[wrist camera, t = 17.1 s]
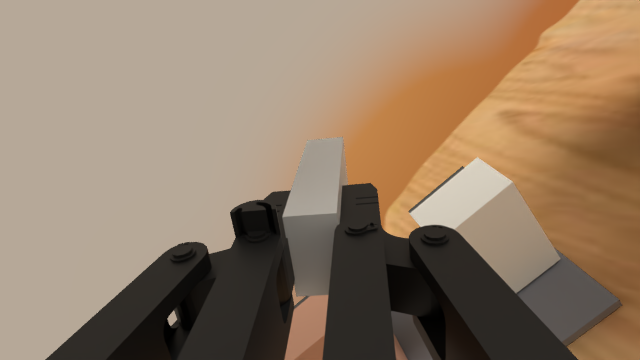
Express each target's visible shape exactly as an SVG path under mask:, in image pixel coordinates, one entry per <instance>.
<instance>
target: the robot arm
mask: <svg viewBox="0 0 640 360" xmlns="http://www.w3.org/2000/svg"><path fill="white" fill-rule="evenodd" d="M346 171H347V170H346V160H345V151H344V143H343V137H337V138H327V139H316V140H307V143H306V146H305V149H304V152H303V155H302V158H301V161H300V164H299V167H298V170H297V173H296V176H295V180H294V183H293V186H292V189H291V191H279V192H272V193H271V194H270V195H268V196H267V197H266V198H265V199H264V200H255V201H249V202H246V203H243V204H241V205H239V206H237V207H235V208H234V209H233V210H232V211H231V212H230V215H231V219H232V224H233V228H234V232H235V236H236V238H235V240H234V242H233V245H232V247H231V248H230V249H227V250H223V251H219V252H216V253H212V254H209V253H208V249H207V246H205V245H204V244H203V243H198V242H186V243H184V244H183V243H182V244H179V245H177V246H175V247H173V248H171V249H169V250H168V251H166V252H165V253H164V254H162V255H161V256H160V257H159V258H158V259H157V260H156V261H155V262H153V263H152V264H151V265H150V266H149V267H148V268H147V269H146V270H145V271H143V272H142V273H141V274H140V275H139V276H138V277H137V278H136V279H135V280H134V281H132V283H130V284H129V285H128V286H127V287H126V288H125V289H123V290H122V291H121V292H120V293H119V294H118V295H117V296H116V297H115V298H114V299H112V300H111V301H110V302H109V303H108V304H107V305H106V306H105V307H103V308H102V309H101V310H100V311H99V312H98V313H97V314H96V315H95V316H94V317H92V318H91V319H90V320H89V321H88V322H87V323H86V324H84V325H83V326H82V327H81V328H80V329H79V330H78V331H77V332H76V333H74V334H73V335H72V336H71V337H70V338H69V339H68V340H67V341H66V342H64V343H63V344H62V345H61V346H60V347H59V348H58V349H57V350H56V351H55V352H53V354H51V355H50V356H49V357H48V358H47V359H46V360H284V359H285V354H286V349H287V344H288V338H289V333H290V328H291V323H292V317H293V312H294V302H293V297H292V290H293V286H294V285H295V291H296V296H317V295H328V305H327V316H326V326H325V337H324V348H323V358H322V360H396V353H395V344H394V335H393V325H392V316H391V311H394V312H399V313H404V314H409V315H412V318H413V322H414V325H415V326H416V328H417V330H418V332H419V334H420V336H421V338H422V340H423V342H424V344H425V345H426V347H427V349H428V351H429V353H430V355H431V357H432V359H433V360H578V359H577V358H576V357H575V356H574V355H573V354H572V353H571V352H570V351H569V349H568V348H567V347H566V346H565V345H564V344H563V343H562V342H561V341H560V340H559V339H558V338H557V337H556V336H555V335H554V333H553V332H552V331H551V330H550V329H549V328H548V327H547V326H546V325H545V324H544V323H543V322H542V321H541V320H540V319H539V318H538V316H537V315H536V314H535V313H534V312H533V311H532V310H531V309H530V308H529V307H528V306H527V305H526V304H525V303H524V302H523V300H522V299H521V298H520V297H519V296H518V295H517V294H516V293H515V292H514V291H513V290H512V289H511V288H510V287H509V286H508V284H507V283H506V282H505V281H504V280H503V279H502V278H501V277H500V276H499V275H498V274H497V273H496V272H495V271H494V270H493V268H492V267H491V266H490V265H489V264H488V263H487V262H486V261H485V260H484V259H483V258H482V257H481V256H480V255H479V254H478V252H477V251H476V250H475V249H474V248H473V247H472V246H471V245H470V244H469V243H468V242H467V241H466V240H465V239H464V238H463V236H462V235H461V234H460V233H458V232H457V231H456V230H454V229H452V228H449V227H446V226H443V225H427V226H422V227H419V228H416V229H415V230H414V231H412V232H411V234H410V236H409V239H407V238H401V237H396V236H393V235H390V234H388V233H387V232H385V231H384V230H383V229H382V226H381V220H380V211H379V202H378V193H377V189H376V188H375V187H374V186H373V185H372V184H371V183H367V184H355V185H348V180H347V172H346ZM173 310H174V311H175V314H176V317H177V321H176V322H175V323H174V324H173V325H172V326H170V325H169V323H168V320H167V318H168V316H169V315H170V314H171V313H172V312H173Z"/></svg>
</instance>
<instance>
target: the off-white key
mask: <svg viewBox="0 0 640 360" xmlns="http://www.w3.org/2000/svg"><path fill="white" fill-rule="evenodd" d="M409 214H410V215H411V216H412V217H413V218H414V220H415V221H416V222H417V223H418V224H419V225H420V227H422V226H427V225H443V226H446V227H449V228H452V229H454V230H456V231H457V232H458V233H460V234H461V235H462V236H463V238H464V239H465V240H466V241H467V242H468V243H469V244H470V245H471V246H472V247H473V248H474V249H475V250H476V251H477V252H478V254H479V255H480V256H481V257H482V258H483V259H484V260H485V261H486V262H487V263H488V264H489V265H490V266H491V267H492V268H493V270H494V271H495V272H496V273H497V274H498V275H499V276H500V277H501V278H502V279H503V280H504V281H505V282H506V283H507V284H508V286H509V287H510V288H511V289H512V290H513V291H514V292H515V293H517V292H519V291H520V290H521V289H522V288H524V287H525V286H526V285H528V284H529V283H530V282H531V281H533V280H534V279H535V278H537V277H538V276H539V275H541V274H542V273H543V272H544V271H546V270H547V269H548V268H550V267H551V266H552V265H554V264H555V263H556V262H557V261H559V260H560V259H561V258H560V257H559V255H558V254H557V252H556V250H555V249H554V247H553V246H552V244H551V242H550V241H549V239H548V238H547V236H546V234H545V233H544V231H543V229H542V228H541V226H540V225H539V223H538V221H537V220H536V218H535V217H534V215H533V213H532V212H531V210H530V209H529V207H528V205H527V204H526V202H525V201H524V199H523V197H522V196H521V194H520V193H519V191H518V189H517V188H516V186H515V185H514V183H513V182H512V181H511V180H509V179H508V178H507V177H505V176H504V175H502V174H501V173H499V172H498V171H496V170H495V169H494V168H492V167H491V166H489V165H488V164H486V163H485V162H483V161H482V160H481V159H479V158H478V157H477V158H476V159H475V160H473V161H472V162H471V163H470V164H469V165H467V166H466V167H465V168H464V169H462V170H461V171H460V172H459V173H458V174H456V175H455V176H454V177H453V178H452V179H450V180H449V181H448V182H447V183H446V184H444V185H443V186H442V187H441V188H440V189H438V190H437V191H436V192H435V193H434V194H432V195H431V196H430V197H429V198H428V199H426V200H425V201H424V202H423V203H421V204H420V205H419V206H418V207H417V208H415V209H414V210H413V211H412V212H411V213H409Z"/></svg>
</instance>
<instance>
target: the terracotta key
mask: <svg viewBox="0 0 640 360" xmlns="http://www.w3.org/2000/svg"><path fill="white" fill-rule="evenodd" d="M327 305H328V295H317V296H310V297H308V298H307V299H306V300H305V301H304V302H302V303H301V304H300V305H299V306H298V307H296V308H295V309H294V312H293V317H292V323H291V328H290V333H289V338H288V344H287V349H286V354H285V359H284V360H322V358H323V348H324V337H325V326H326V316H327ZM393 335H394V334H393ZM394 344H395V353H396V360H408V359H407V357H406V355H405V353H404V352H403V350H402V348H401V346H400V344H399V342H398V340H397V338H396V337H395V335H394Z"/></svg>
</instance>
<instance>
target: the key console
mask: <svg viewBox="0 0 640 360" xmlns="http://www.w3.org/2000/svg"><path fill="white" fill-rule="evenodd" d="M462 169H464V167H463V166H462V167H461V168H460V169H459V170H457V171H456V172H455V173H454V174H453V175H451V176H450V177H449V178H448V179H447V180H445V181H444V182H443V183H442V184H441V185H439V186H438V187H437V188H436V189H435V190H433V191H432V192H431V193H430V194H428V195H427V196H426V197H425V198H424V199H422V200H421V201H420V202H419V203H418V204H416V205H415V206H414V207H413V208H412V209H410V210H409V213H411V212H412V211H413V210H414V209H415V208H417V207H418V206H419V205H420V204H421V203H423V202H424V201H425V200H426V199H428V198H429V197H430V196H431V195H432V194H434V193H435V192H436V191H437V190H438V189H440V188H441V187H442V186H443V185H444V184H446V183H447V182H448V181H449V180H450V179H452V178H453V177H454V176H455V175H456V174H458V173H459V172H460V171H461V170H462ZM554 249H555V248H554ZM555 250H556V249H555ZM556 252H557V254H558V255H559V257H560V258H561V259H560V260H559V261H557V262H556V263H555V264H554V265H552V266H551V267H550V268H548V269H547V270H546V271H544V272H543V273H542V274H541V275H539V276H538V277H537V278H535V279H534V280H533V281H531V282H530V283H529V284H528V285H526V286H525V287H524V288H522V289H521V290H520V291H519V292H517V293H516V294H517V295H518V296H519V297H520V298H521V299H522V300H523V302H524V303H525V304H526V305H527V306H528V307H529V308H530V309H531V310H532V311H533V312H534V313H535V314H536V315H537V316H538V318H539V319H540V320H541V321H542V322H543V323H544V324H545V325H546V326H547V327H548V328H549V329H550V330H551V331H552V332H553V333H554V335H555V336H556V337H557V338H558V339H559V340H560V341H561V342H562V343H563V344H564V345H565V346H568V345H569V344H570V343H572V342H573V341H574V340H576V339H577V338H578V337H580V336H581V335H582V334H584V333H585V332H587V331H588V330H589V329H591V328H592V327H593V326H595V325H596V324H597V323H599V322H600V321H601V320H603V319H604V318H605V317H607V316H608V315H610V314H611V313H612V312H614V311H615V310H616V309H618V308H619V307H620V306H622V304H621V302H620V300H619V299H618V298H617V297H615V296H614V295H613V294H612V293H610V292H609V291H608V290H607V289H605V288H604V287H603V286H602V285H600V284H599V283H598V282H597V281H595V280H594V279H593V278H592V277H590V276H589V275H588V274H587V273H585V272H584V271H583V270H582V269H580V268H579V267H578V266H577V265H575V264H574V263H573V262H572V261H570V260H569V259H568V258H567V257H565V256H564V255H563V254H561V253H560V252H559V251H558V250H556ZM308 297H310V296H306V297H304V298H303V299H302V300H301V301H300V302H298V303H297V304H296V305H295V306H294V309H295V308H296V307H298V306H299V305H300V304H301V303H302V302H304V301H305V300H306V299H307V298H308ZM391 316H392V325H393V334H394V335H395V337H396V338H397V340H398V342H399V344H400V346H401V348H402V350H403V352H404V353H405V355H406V357H407V359H408V360H433V359H432V357H431V355H430V353H429V351H428V349H427V347H426V345H425V344H424V342H423V340H422V338H421V336H420V334H419V332H418V330H417V328H416V326H415V325H414V322H413V318H412V315H409V314H404V313H399V312H394V311H391Z"/></svg>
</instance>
